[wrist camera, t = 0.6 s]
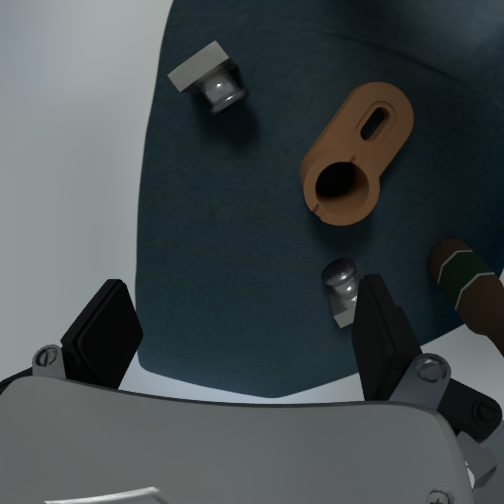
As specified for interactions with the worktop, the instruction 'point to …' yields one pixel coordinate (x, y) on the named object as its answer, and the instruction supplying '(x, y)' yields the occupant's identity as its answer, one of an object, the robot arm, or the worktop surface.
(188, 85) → the grey metal fittings
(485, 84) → the worktop surface
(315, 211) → the bracket
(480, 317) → the beer bottle
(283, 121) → the worktop surface
